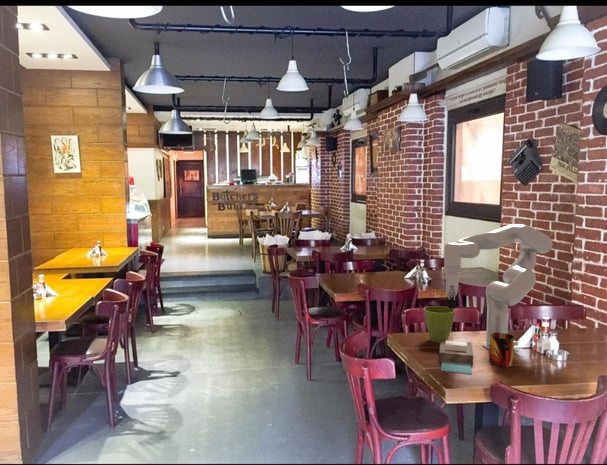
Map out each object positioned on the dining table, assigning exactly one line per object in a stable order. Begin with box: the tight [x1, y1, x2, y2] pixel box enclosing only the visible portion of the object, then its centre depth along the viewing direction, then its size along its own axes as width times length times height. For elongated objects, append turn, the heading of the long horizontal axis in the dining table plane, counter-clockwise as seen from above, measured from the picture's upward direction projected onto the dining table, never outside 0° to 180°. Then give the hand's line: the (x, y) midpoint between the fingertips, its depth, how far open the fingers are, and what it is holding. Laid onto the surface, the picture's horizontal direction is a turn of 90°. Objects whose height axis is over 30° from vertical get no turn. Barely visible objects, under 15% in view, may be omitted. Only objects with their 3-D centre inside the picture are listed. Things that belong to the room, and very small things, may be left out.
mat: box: [440, 361, 473, 375], centre depth 210 cm, size 12×12×1 cm
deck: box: [438, 339, 474, 366], centre depth 225 cm, size 14×20×4 cm
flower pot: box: [423, 305, 456, 344], centre depth 248 cm, size 15×15×16 cm
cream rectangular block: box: [446, 339, 468, 352], centre depth 223 cm, size 9×6×2 cm, turn 74°
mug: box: [488, 333, 515, 369], centre depth 214 cm, size 10×14×12 cm
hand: (452, 305), depth 231 cm, fingers open, 9 cm apart
